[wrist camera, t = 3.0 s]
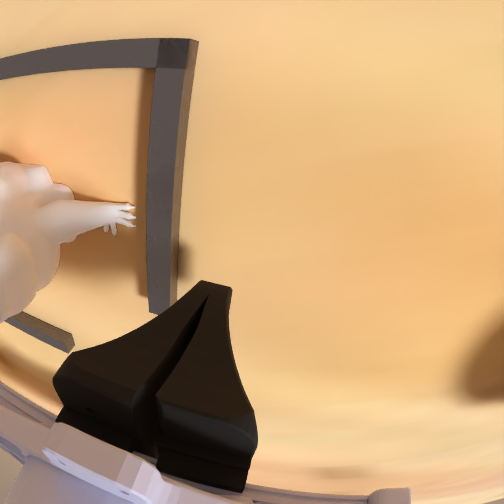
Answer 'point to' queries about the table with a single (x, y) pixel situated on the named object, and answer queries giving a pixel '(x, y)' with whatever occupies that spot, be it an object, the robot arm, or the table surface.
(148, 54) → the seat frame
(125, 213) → the white figurine
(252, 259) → the table surface
